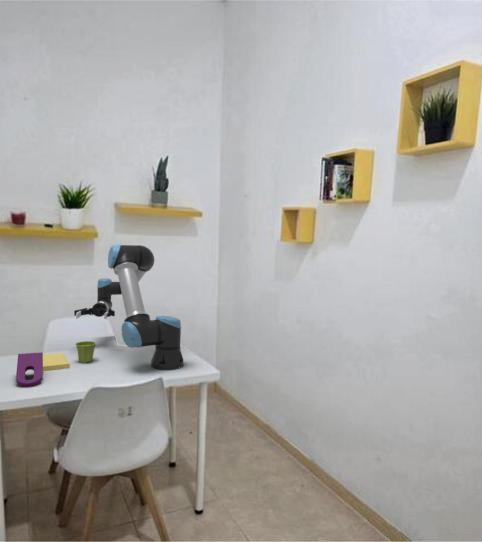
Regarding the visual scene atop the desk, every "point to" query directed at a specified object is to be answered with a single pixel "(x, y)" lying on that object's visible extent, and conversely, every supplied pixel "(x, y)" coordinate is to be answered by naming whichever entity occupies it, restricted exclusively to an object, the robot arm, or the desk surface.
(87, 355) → the plant pot
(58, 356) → the shelf board
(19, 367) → the mounting bracket
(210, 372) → the desk surface
